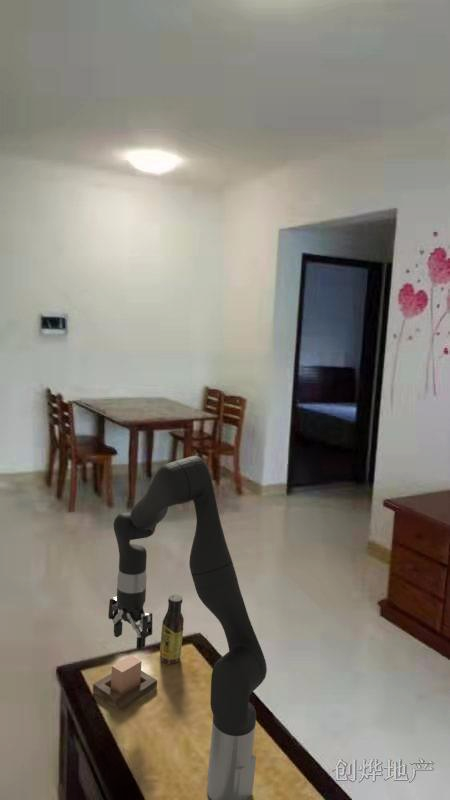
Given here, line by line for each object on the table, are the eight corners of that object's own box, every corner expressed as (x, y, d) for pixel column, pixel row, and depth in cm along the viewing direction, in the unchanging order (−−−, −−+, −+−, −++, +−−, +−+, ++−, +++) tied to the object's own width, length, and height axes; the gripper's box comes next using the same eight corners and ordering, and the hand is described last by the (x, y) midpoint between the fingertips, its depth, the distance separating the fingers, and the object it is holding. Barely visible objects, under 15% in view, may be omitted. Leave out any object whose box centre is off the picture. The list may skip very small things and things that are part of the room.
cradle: (156, 688, 166) (157, 680, 165) (121, 711, 156) (121, 703, 155) (128, 671, 172) (129, 663, 172) (92, 692, 162) (93, 683, 162)
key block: (120, 696, 160) (122, 672, 159) (110, 689, 162) (111, 665, 161) (140, 684, 165) (141, 661, 164) (130, 678, 168) (131, 654, 166)
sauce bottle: (156, 654, 181) (160, 592, 178) (176, 651, 184) (180, 590, 180) (163, 667, 175) (168, 603, 172) (184, 663, 178) (188, 600, 174)
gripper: (102, 580, 160) (100, 637, 163) (140, 599, 152) (137, 659, 154) (123, 571, 166) (121, 626, 169) (161, 589, 158) (158, 647, 160)
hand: (129, 642), depth 162 cm, fingers open, 8 cm apart
